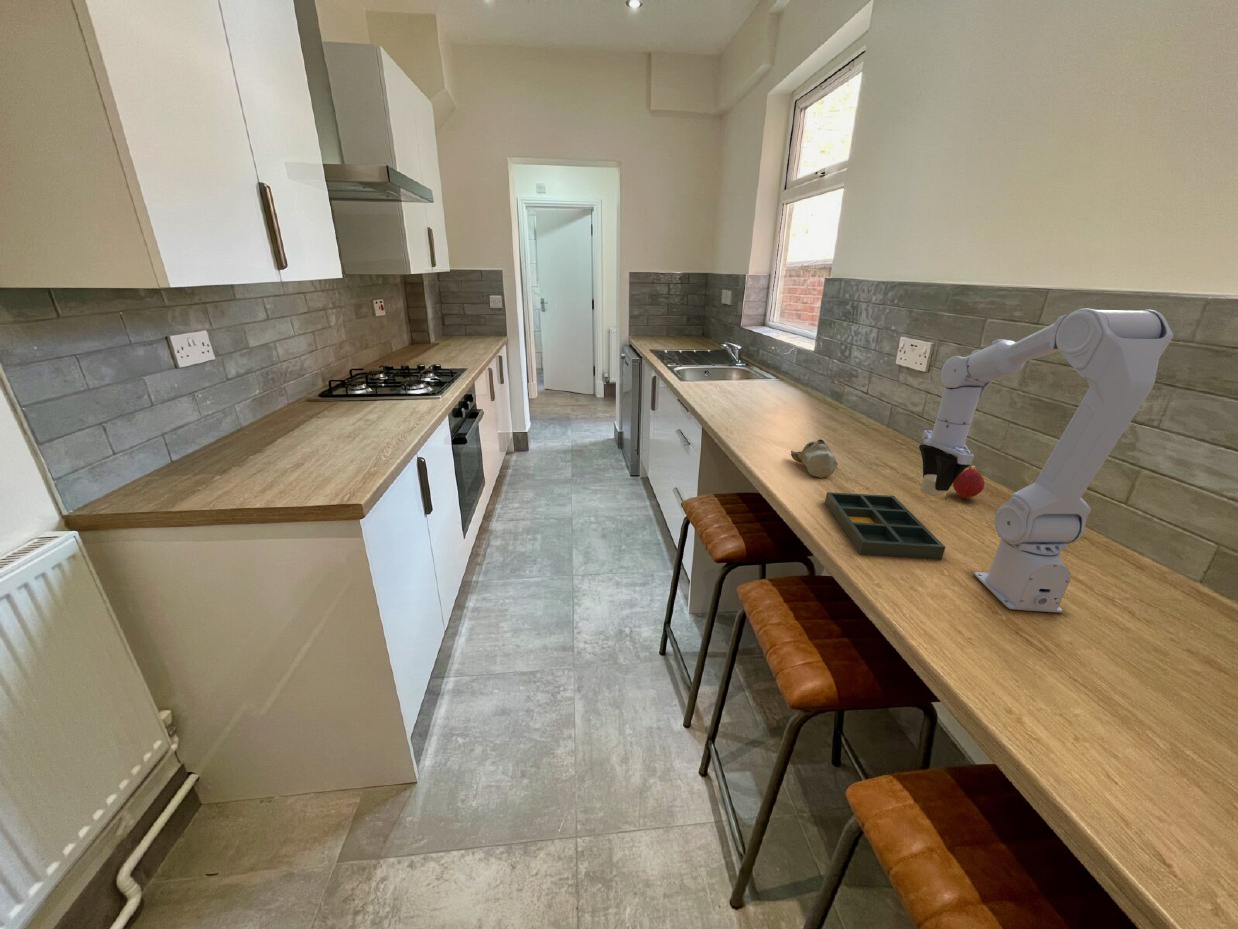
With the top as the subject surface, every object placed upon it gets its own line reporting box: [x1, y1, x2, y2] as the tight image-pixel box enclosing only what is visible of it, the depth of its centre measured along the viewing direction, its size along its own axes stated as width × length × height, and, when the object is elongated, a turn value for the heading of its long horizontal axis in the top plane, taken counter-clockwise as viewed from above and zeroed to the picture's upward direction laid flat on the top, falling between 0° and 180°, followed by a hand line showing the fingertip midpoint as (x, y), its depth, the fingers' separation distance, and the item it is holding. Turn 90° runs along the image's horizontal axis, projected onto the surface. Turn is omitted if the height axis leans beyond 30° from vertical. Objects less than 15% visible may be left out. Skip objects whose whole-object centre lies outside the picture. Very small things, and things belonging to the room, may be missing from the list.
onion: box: [952, 465, 985, 499], centre depth 111 cm, size 6×6×8 cm
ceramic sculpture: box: [790, 439, 839, 479], centre depth 125 cm, size 11×9×15 cm
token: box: [920, 474, 948, 498], centre depth 99 cm, size 4×4×3 cm
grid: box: [824, 491, 946, 560], centre depth 98 cm, size 21×14×3 cm
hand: (934, 484), depth 99 cm, fingers closed on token, 4 cm apart
